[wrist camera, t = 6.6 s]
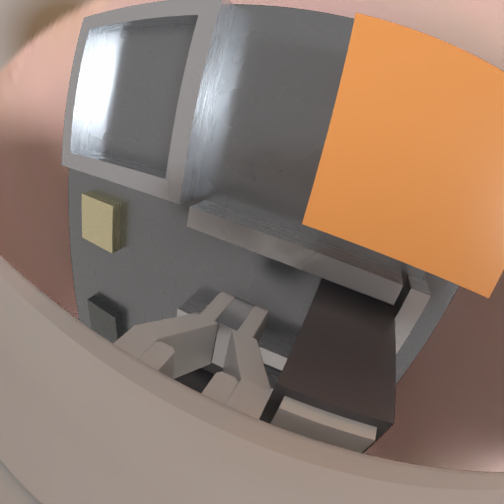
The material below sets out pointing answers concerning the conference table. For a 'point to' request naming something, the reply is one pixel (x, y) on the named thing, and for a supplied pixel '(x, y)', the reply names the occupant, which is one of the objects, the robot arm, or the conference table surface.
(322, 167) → the orange block
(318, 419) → the block
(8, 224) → the conference table surface
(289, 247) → the panel
